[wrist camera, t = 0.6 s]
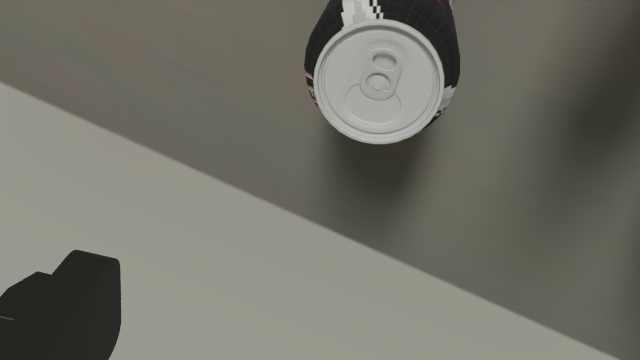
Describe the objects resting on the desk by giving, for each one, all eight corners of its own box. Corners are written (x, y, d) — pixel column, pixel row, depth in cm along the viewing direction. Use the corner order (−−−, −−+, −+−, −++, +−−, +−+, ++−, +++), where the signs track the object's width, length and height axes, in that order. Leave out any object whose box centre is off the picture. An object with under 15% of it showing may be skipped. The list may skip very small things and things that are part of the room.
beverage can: (465, -42, 29) (487, 27, 19) (430, 67, 32) (433, 177, 22) (352, -71, 30) (313, -17, 19) (327, 40, 33) (282, 138, 22)
